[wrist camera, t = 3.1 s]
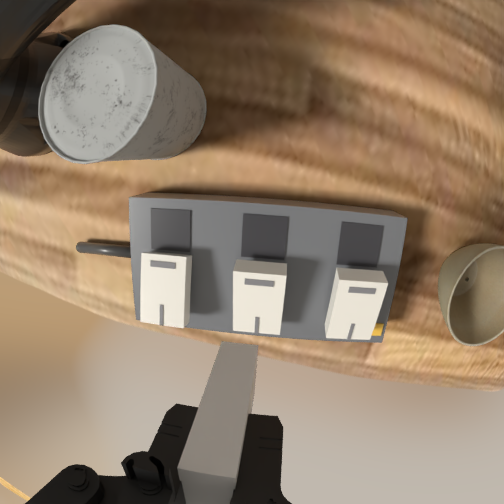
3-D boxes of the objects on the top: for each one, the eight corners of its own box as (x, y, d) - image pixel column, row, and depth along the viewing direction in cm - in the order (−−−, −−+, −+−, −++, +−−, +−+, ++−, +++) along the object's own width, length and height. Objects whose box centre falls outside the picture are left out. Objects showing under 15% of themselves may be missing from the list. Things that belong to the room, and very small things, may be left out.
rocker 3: (324, 324, 28) (326, 338, 26) (336, 267, 25) (339, 280, 23) (366, 326, 28) (370, 340, 26) (382, 271, 25) (388, 283, 23)
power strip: (87, 293, 34) (67, 307, 30) (79, 191, 31) (55, 197, 27) (372, 322, 32) (382, 343, 28) (392, 210, 28) (408, 218, 24)
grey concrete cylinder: (187, 51, 26) (134, -1, 14) (221, 135, 28) (179, 120, 16) (106, 95, 28) (28, 75, 16) (135, 175, 30) (58, 188, 18)
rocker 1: (148, 316, 28) (140, 321, 26) (149, 251, 28) (141, 252, 26) (189, 322, 28) (183, 328, 26) (192, 255, 27) (186, 257, 25)
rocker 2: (236, 317, 28) (232, 331, 27) (236, 259, 26) (232, 271, 24) (280, 321, 28) (279, 335, 26) (286, 263, 25) (286, 276, 24)
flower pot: (402, 273, 30) (429, 302, 23) (466, 209, 27) (505, 222, 21) (444, 330, 31) (470, 364, 24) (501, 273, 29) (536, 296, 22)
